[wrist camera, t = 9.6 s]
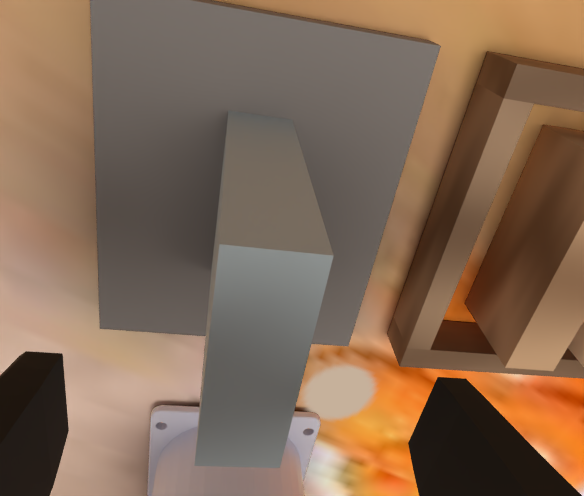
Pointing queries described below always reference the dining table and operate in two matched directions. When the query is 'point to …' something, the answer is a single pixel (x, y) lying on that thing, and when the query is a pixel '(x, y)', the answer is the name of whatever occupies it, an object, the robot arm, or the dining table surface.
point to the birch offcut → (578, 345)
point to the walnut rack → (475, 215)
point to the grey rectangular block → (260, 295)
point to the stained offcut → (537, 259)
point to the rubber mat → (211, 142)
